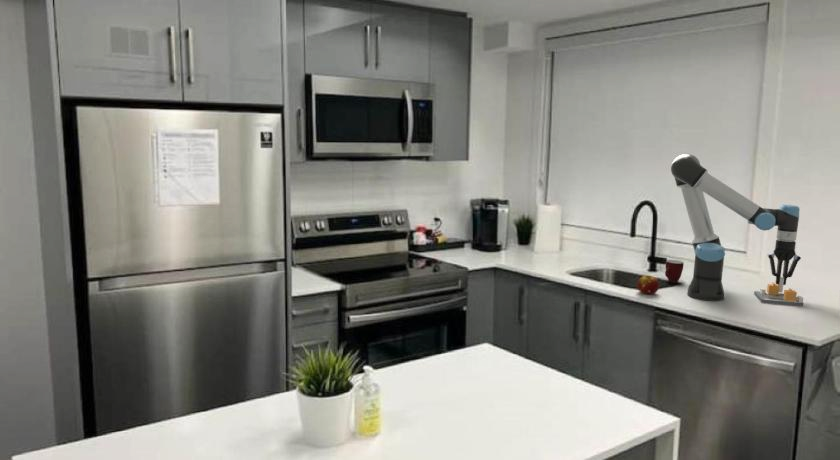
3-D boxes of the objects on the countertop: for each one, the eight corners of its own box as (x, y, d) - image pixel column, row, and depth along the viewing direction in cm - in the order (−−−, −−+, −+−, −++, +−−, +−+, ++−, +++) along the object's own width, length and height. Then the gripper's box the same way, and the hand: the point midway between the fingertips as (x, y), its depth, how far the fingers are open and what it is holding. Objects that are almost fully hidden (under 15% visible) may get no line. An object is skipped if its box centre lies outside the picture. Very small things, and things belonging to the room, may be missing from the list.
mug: (675, 285, 290) (677, 265, 289) (658, 281, 296) (660, 262, 294) (684, 281, 297) (686, 261, 296) (668, 278, 303) (670, 259, 301)
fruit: (649, 297, 270) (650, 280, 268) (632, 292, 277) (633, 275, 276) (662, 294, 275) (663, 277, 273) (645, 289, 282) (646, 272, 281)
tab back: (768, 294, 271) (769, 283, 271) (766, 292, 274) (767, 282, 273) (778, 294, 270) (779, 284, 269) (776, 293, 273) (777, 282, 272)
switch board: (761, 302, 264) (762, 295, 263) (754, 294, 277) (754, 286, 276) (803, 306, 259) (804, 298, 258) (793, 297, 272) (794, 290, 272)
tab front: (785, 300, 262) (786, 289, 261) (783, 298, 264) (784, 287, 264) (795, 301, 260) (797, 290, 260) (793, 299, 263) (794, 288, 262)
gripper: (771, 240, 265) (765, 292, 270) (805, 242, 262) (798, 295, 266) (767, 237, 272) (761, 288, 277) (800, 239, 269) (793, 290, 273)
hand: (779, 291), depth 271 cm, fingers closed
